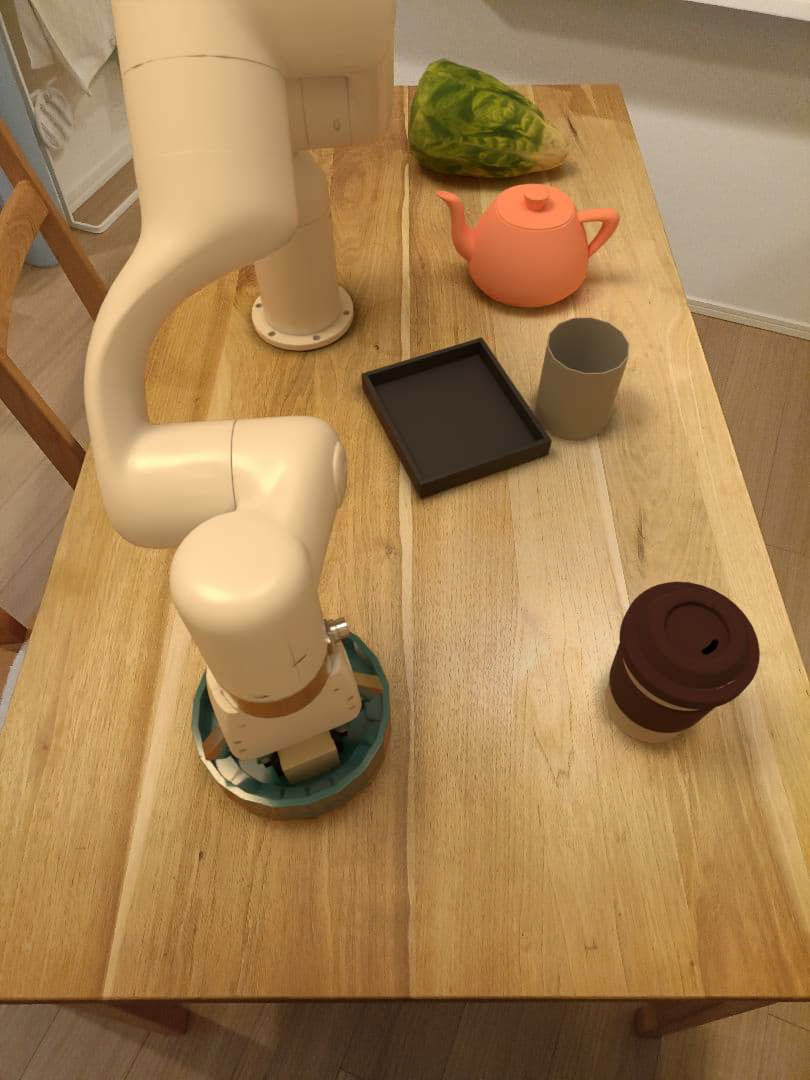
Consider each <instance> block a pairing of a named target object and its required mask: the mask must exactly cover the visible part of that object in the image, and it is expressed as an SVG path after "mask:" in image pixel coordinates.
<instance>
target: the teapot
mask: <svg viewBox="0 0 810 1080" xmlns="http://www.w3.org/2000/svg"><path fill="white" fill-rule="evenodd" d="M435 195H436V196H437V197H438V198H440V199H441V200H442V201H443V202H444V203H445V204H446V205H447V207H448V209H449V212H450V232H451V240H452V245H453V246H454V249H455V251H456V252H457V254H458V255H459V256H460V257H461V258H462V259H464V260H465V261H466V263H467V268H468V269H467V270H468V271H469V275H470V277H471V279H472V281H473V282H474V284H475V285H476V286H477V287H478V288H479V289H480V290H481V291H482V292H483V293H484V294H485V295H486V296H488V297H489V298H491V299H492V300H494V301H495V302H497V303H501V304H503V305H507V306H511V307H518V308H542V307H547V306H551V305H553V304H555V303H559V302H561V301H562V300H564V299H566V298H567V297H568V296H570V295H571V294H573V293H574V292H576V291H577V290H578V288H580V286H581V285H582V283H583V282H584V280H585V279H586V276H587V272H588V267H589V260H590V259H591V258H592V256H594V255H595V254H596V253H597V252H598V251H599V250H600V249H601V248H602V247H603V246H604V245H605V244H606V243H607V242H608V241H609V240H610V238H612V236H613V235H614V233H615V232H616V230H617V228H618V227H619V224H620V220H621V215H620V213H619V212H618V211H617V210H616V209H614V208H611V207H597V208H591V209H585V210H578V208H577V207H576V204H575V203H574V201H573V199H572V198H571V197H570V195H569V194H567V193H565V192H564V191H563V190H561V189H559V188H556V187H554V186H551V185H547V184H540V183H524V184H517V185H514V186H510V187H509V188H507V189H505V190H503V191H502V192H501V193H500V194H498V196H497V197H495V199H493V200H492V202H491V203H490V204H489V206H488V207H487V208H486V209H485V210H484V212H483V213H482V215H481V216H480V218H479V219H478V221H477V224H476V225H475V228H474V230H473V229H472V228H470V227H469V226H468V225H467V223H466V220H465V208H464V204H463V202H462V200H461V199H460V197H459V196H457V195H455V194H454V193H451V192H450V191H446V190H436V191H435ZM590 222H591V223H592V222H601V226H600V228H599V230H598V232H597V234H596V235H595V236H594V238H593V239H592V240H591V241H590V242H589V241H588V236H587V231H586V228H585V225H584V224H585V223H590Z"/></svg>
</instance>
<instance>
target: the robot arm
mask: <svg viewBox="0 0 810 1080" xmlns="http://www.w3.org/2000/svg"><path fill="white" fill-rule="evenodd" d="M397 2H398V0H110V5H111V13H112V19H113V26H114V33H115V40H116V48H117V55H118V56H117V57H118V62H119V70H120V78H121V83H122V91H123V98H124V106H125V112H126V119H127V127H128V133H129V139H130V140H129V141H130V147H131V154H132V163H133V170H134V175H135V176H134V177H135V182H136V189H137V194H138V201H139V207H140V217H141V221H140V222H141V223H140V224H141V226H140V235H139V238H138V241H137V243H136V245H135V248H134V249H133V251H132V253H131V255H130V257H129V258H128V260H127V261H126V263H125V264H124V265H123V267H122V269H121V270H120V272H119V273H118V275H117V276H116V278H115V279H114V281H113V282H112V283H111V286H110V288H109V289H108V292H107V294H106V296H105V298H104V299H103V301H102V304H101V305H100V308H99V311H98V313H97V316H96V319H95V321H94V324H93V327H92V330H91V331H92V332H91V335H90V338H89V342H88V346H87V351H86V358H85V365H84V376H83V398H84V399H83V400H84V408H85V409H84V410H85V413H86V414H85V417H86V421H87V427H88V433H89V438H90V445H91V452H92V457H93V463H94V470H95V473H96V474H95V475H96V479H97V484H98V490H99V493H100V497H101V500H102V505H103V507H104V510H105V513H106V515H107V516H106V517H107V518H108V520H109V522H110V524H111V526H112V527H113V529H114V530H115V531H116V533H117V534H118V535H119V536H120V537H121V538H122V539H123V540H125V541H126V542H127V543H129V544H130V545H133V546H135V547H138V548H143V549H150V550H151V549H152V550H170V549H173V550H175V549H176V551H175V553H174V555H173V557H172V560H171V564H170V568H169V573H168V574H169V576H168V587H169V593H170V597H171V599H172V601H173V604H174V606H175V609H176V611H177V614H178V616H179V617H180V619H181V621H182V623H183V624H184V626H185V629H186V630H187V631H188V633H189V635H190V637H191V638H192V641H193V642H194V644H195V646H196V648H197V649H198V651H199V652H200V655H201V657H202V658H203V660H204V662H205V664H206V666H207V667H206V668H207V671H206V682H207V689H208V694H209V698H210V701H211V704H212V707H213V710H214V712H215V715H216V718H217V720H218V725H217V726H216V727H215V729H214V730H213V731H212V732H211V734H210V735H209V736H208V737H207V739H206V740H205V741H204V742H203V744H202V748H203V751H204V755H205V759H206V760H207V761H211V760H218V759H225V758H228V757H229V756H232V758H233V759H237V760H245V761H248V760H252V759H256V761H257V764H264V766H265V768H268V767H270V766H273V768H274V770H275V772H276V773H277V775H278V777H281V776H283V775H284V772H283V770H282V767H281V764H280V758H279V755H278V752H277V751H278V750H281V749H283V748H286V747H288V746H291V745H293V744H296V743H299V742H301V741H304V740H306V739H309V738H311V737H314V736H316V735H319V734H321V733H323V732H326V731H328V730H329V732H330V735H331V737H332V739H333V740H334V743H335V746H336V748H337V752H338V753H340V752H343V751H344V747H343V743H342V739H341V738H342V737H345V736H347V735H348V733H347V730H348V729H350V727H351V726H350V723H349V721H351V720H352V719H354V718H356V717H357V715H358V714H359V713H360V712H361V711H362V710H363V709H364V708H365V705H364V703H366V702H370V701H371V700H373V699H374V698H375V697H377V696H378V695H380V694H381V693H382V692H383V691H384V689H383V687H382V684H381V682H380V679H379V677H378V676H374V675H369V674H364V673H358V672H353V671H352V668H351V665H350V662H349V659H348V656H347V653H346V651H345V648H344V646H343V644H342V642H341V639H343V638H346V637H349V636H350V632H351V631H350V629H349V626H348V624H347V621H346V619H345V617H344V616H341V617H339V618H337V619H333V618H331V619H327V618H324V614H323V609H322V605H321V601H320V597H319V585H320V581H321V576H322V572H323V568H324V564H325V559H326V555H327V550H328V546H329V543H330V538H331V535H332V531H333V527H334V523H335V519H336V517H337V512H338V510H340V509H341V507H342V506H343V504H344V502H345V497H346V494H347V487H348V459H347V453H346V448H345V446H344V444H343V442H342V441H341V439H340V436H339V434H338V432H337V430H336V429H335V428H334V426H333V425H331V423H329V422H328V421H327V420H324V419H322V418H320V417H317V416H310V415H283V416H282V415H280V416H269V417H268V416H265V417H252V418H230V419H214V420H212V419H211V420H196V421H186V422H185V421H183V422H182V421H181V422H168V423H167V422H166V423H156V424H153V423H151V420H150V416H149V411H148V403H147V402H148V401H147V395H146V370H147V365H148V360H149V354H150V351H151V350H152V349H151V348H152V346H153V343H154V341H155V339H156V337H157V335H158V333H159V331H160V330H161V328H162V326H163V325H164V324H165V322H166V321H167V320H168V318H169V317H170V316H171V315H172V314H173V313H174V311H176V310H177V309H178V308H179V307H181V305H183V304H184V303H185V302H186V301H187V300H188V299H190V298H191V297H192V296H194V295H195V294H196V293H198V292H200V291H201V290H203V289H204V288H206V287H207V286H209V285H211V284H213V283H214V282H216V281H218V280H220V279H222V278H224V277H226V276H228V275H230V274H232V273H234V272H237V271H238V270H240V269H242V268H245V267H247V266H250V265H252V264H253V269H254V273H255V278H256V282H257V288H258V292H259V295H258V296H257V297H256V299H255V301H254V302H253V304H252V307H251V320H252V325H253V328H254V330H255V332H256V334H257V335H258V336H259V337H260V338H261V339H262V340H263V341H264V342H266V343H267V344H269V345H271V346H274V347H276V348H279V349H282V350H288V351H299V352H300V351H301V352H302V351H310V350H311V351H312V350H316V349H320V348H323V347H325V346H329V345H330V344H332V343H334V342H335V341H337V340H339V339H340V338H342V336H343V335H345V334H346V332H348V330H349V329H350V327H351V325H352V323H353V320H354V313H355V312H354V304H353V299H352V298H351V296H350V294H349V292H347V291H346V290H345V288H343V287H342V286H341V285H339V277H338V267H337V258H336V248H335V246H336V245H335V239H334V238H335V237H334V227H333V217H332V208H331V198H330V189H329V184H328V180H327V178H326V174H325V173H324V171H323V168H322V166H321V164H320V163H319V162H318V160H317V159H316V158H315V156H314V155H313V154H312V153H311V151H310V150H319V149H336V148H338V149H339V148H353V147H363V146H369V145H373V144H376V143H377V142H379V141H380V140H381V139H383V137H385V135H386V133H387V132H388V130H389V127H390V124H391V122H392V121H391V120H392V116H393V108H394V95H395V94H394V91H395V90H394V89H395V84H394V83H395V78H394V77H395V27H396V20H397V6H398V5H397V4H398V3H397ZM349 631H350V632H349Z"/></svg>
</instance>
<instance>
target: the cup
mask: <svg viewBox="0 0 810 1080" xmlns="http://www.w3.org/2000/svg"><path fill="white" fill-rule="evenodd" d="M547 335H548V336H547V342H546V347H545V352H544V357H543V363H542V368H541V373H540V379H539V384H538V389H537V394H536V399H535V406H534V412H533V413H534V415H535V416H536V418H537V419H538V421H539V422H540V424H541V425H542V427H543V428H544V430H545V431H546V432H548V433H549V434H551V435H552V436H555V437H559V438H561V439H564V440H567V441H574V440H576V441H578V440H587V439H590V438H592V437H594V436H597V435H599V434H600V433H602V431H603V430H604V429H605V427H606V426H607V425H608V424H609V421H610V417H611V414H612V411H613V408H614V405H615V402H616V398H617V395H618V392H619V389H620V386H621V382H622V380H623V376H624V374H625V369H626V368H627V367H626V366H627V363H628V360H629V355H630V342H629V340H628V339H627V337H626V335H625V333H624V332H623V330H621V329H620V328H618V327H617V326H616V325H614V324H612V323H611V322H609V321H606V320H602V319H599V318H595V317H592V316H588V317H587V316H586V317H585V316H583V317H581V316H580V317H571V318H568V319H566V320H564V321H560V322H558V323H557V324H556V325H555V326H554V327H553V328H552V329H551V330H550V331H549V332H548V334H547Z"/></svg>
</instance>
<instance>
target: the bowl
mask: <svg viewBox="0 0 810 1080" xmlns="http://www.w3.org/2000/svg"><path fill="white" fill-rule="evenodd" d="M349 632H350V636H349V637H346V638H343V639H341V642H342V644H343V646H344V648H345V651H346V653H347V656H348V659H349V662H350V665H351V668H352V671H353V672H358V673H364V674H369V675H374V676H378V677H379V679H380V682H381V684H382V687H383V689H384V691H383V692H382V693H381V694H380V695H378V696H377V697H375V698H374V699H373V700H371V701H370V702H366V703H364V705H365V708H364V709H363V710H362V711H361V712H360V713H359V714H358V715H357V717H356V718H354V719H352V720H351V721H349V723H350V726H351V727H350V729H348V730H347V733H348V735H347V736H345V737H342V738H341V739H342V743H343V747H344V751H343V752H340V753H338V756H339V759H340V763H341V765H340V766H338V767H336V768H333V769H331V770H328V771H326V772H323V773H321V774H318V775H316V776H313V777H311V778H309V779H306V780H304V781H301V782H299V783H296V784H294V785H290V784H289V782H288V780H287V778H286V776H285V774H284V775H283V776H281V777H278V775H277V773H276V772H275V770H274V768H273V766H270V767H268V768H265V766H264V764H257V761H256V759H252V760H248V761H245V760H237V759H233V758H232V756H229V757H228V758H225V759H218V760H211V761H207V760H206V759H205V755H204V751H203V748H202V744H203V742H204V741H205V740H206V739H207V737H208V736H209V735H210V734H211V732H212V731H213V730H214V729H215V727H216V726H217V725H218V720H217V718H216V715H215V712H214V710H213V707H212V704H211V701H210V698H209V694H208V689H207V682H206V671H207V667H206V668H205V670H204V673H203V674H202V676H201V678H200V681H199V684H198V686H197V688H196V691H195V694H194V695H193V701H192V712H191V713H192V714H191V725H190V729H191V733H192V737H193V740H194V744H195V748H196V751H197V755H198V758H199V760H200V761H201V763H202V764H203V765H204V767H205V768H206V770H207V771H208V772H209V774H210V775H211V777H212V778H213V779H214V781H215V782H216V784H217V785H218V786H219V788H221V790H222V791H223V792H224V794H225V795H226V796H227V798H229V799H231V800H232V801H233V802H234V803H236V804H238V805H239V806H240V807H242V808H244V809H245V810H246V811H248V812H249V813H251V814H254V815H255V816H256V815H257V816H261V817H265V818H268V819H273V820H276V821H280V822H290V821H301V820H303V821H304V820H314V819H316V818H319V817H321V816H323V815H326V814H329V813H331V812H333V811H335V810H338V809H340V808H343V807H344V806H346V805H347V804H348V803H349V802H351V801H352V800H353V799H354V798H355V797H356V796H358V795H359V794H360V793H361V792H362V791H364V790H365V789H366V788H367V787H368V786H369V785H370V783H371V782H372V780H373V778H374V777H375V775H376V774H377V773H378V770H379V769H380V768H381V766H382V765H383V763H384V761H385V759H386V756H387V752H388V748H389V743H390V740H391V735H392V732H393V727H392V714H391V700H390V687H389V686H390V685H389V681H388V679H387V676H386V675H385V671H384V670H383V667H382V665H381V663H380V661H379V658H378V656H377V655H376V653H374V652H373V651H372V649H370V647H369V646H368V645H367V644H366V643H365V642H364V641H363V639H361V637H359V636H358V635H357V634H355V633H353V632H351V630H349Z"/></svg>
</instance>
